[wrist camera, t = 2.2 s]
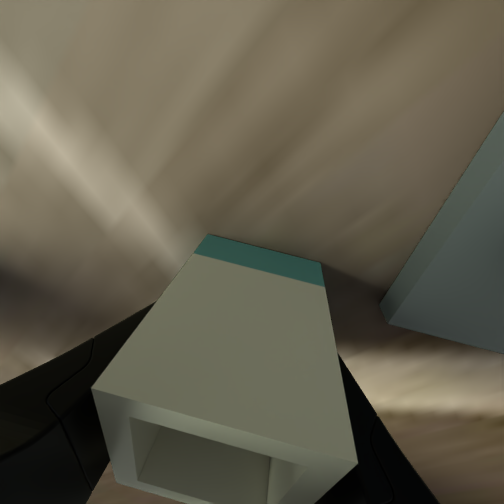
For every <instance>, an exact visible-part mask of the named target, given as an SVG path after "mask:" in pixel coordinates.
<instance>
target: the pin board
mask: <svg viewBox="0 0 504 504" xmlns="http://www.w3.org/2000/svg"><path fill="white" fill-rule="evenodd" d="M379 306H380V309H381V311H382V313H383V315H384V317H385V319H386V322H387V324H390V325H394V326H398V327H402V328H405V329H409V330H413V331H417V332H421V333H425V334H429V335H432V336H436V337H440V338H444V339H448V340H452V341H455V342H459V343H463V344H467V345H471V346H475V347H478V348H482V349H486V350H490V351H494V352H498V353H501V354H504V112H503V113H502V115H501V116H500V118H499V119H498V121H497V123H496V124H495V126H494V127H493V129H492V130H491V132H490V133H489V135H488V136H487V138H486V140H485V141H484V143H483V144H482V146H481V147H480V149H479V150H478V152H477V154H476V155H475V157H474V158H473V160H472V161H471V163H470V164H469V166H468V168H467V169H466V171H465V172H464V174H463V175H462V177H461V178H460V180H459V182H458V183H457V185H456V186H455V188H454V189H453V191H452V192H451V194H450V195H449V197H448V199H447V200H446V202H445V203H444V205H443V206H442V208H441V209H440V211H439V213H438V214H437V216H436V217H435V219H434V220H433V222H432V223H431V225H430V227H429V228H428V230H427V231H426V233H425V234H424V236H423V237H422V239H421V241H420V242H419V244H418V245H417V247H416V248H415V250H414V251H413V253H412V254H411V256H410V258H409V259H408V261H407V262H406V264H405V265H404V267H403V268H402V270H401V272H400V273H399V275H398V276H397V278H396V279H395V281H394V282H393V284H392V286H391V287H390V289H389V290H388V292H387V293H386V295H385V296H384V298H383V300H382V301H381V303H380V304H379Z"/></svg>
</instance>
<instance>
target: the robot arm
mask: <svg viewBox="0 0 504 504" xmlns="http://www.w3.org/2000/svg"><path fill="white" fill-rule="evenodd" d="M156 302H157V301H156ZM156 302H154V303H153V304H151V305H149V306H147V307H146V308H144V309H142V310H140V311H139V312H137V313H135V314H133V315H132V316H130V317H128V318H126V319H125V320H123V321H121V322H119V323H118V324H116V325H114V326H112V327H111V328H109V329H107V330H105V331H104V332H102V333H100V334H98V335H97V336H95V337H94V338H91V339H89V340H88V341H86V342H84V343H82V344H81V345H79V346H77V347H75V348H73V349H71V350H70V351H68V352H66V353H64V354H62V355H60V356H58V357H56V358H54V359H52V360H50V361H48V362H46V363H44V364H42V365H40V366H38V367H36V368H34V369H32V370H30V371H28V372H26V373H24V374H22V375H20V376H18V377H16V378H14V379H11V380H9V381H7V382H5V383H3V384H1V385H0V504H86V502H87V501H88V499H89V497H90V495H91V493H92V492H91V491H93V490H94V488H95V486H96V484H97V483H98V481H99V479H100V477H101V476H102V474H103V472H104V470H105V469H106V467H107V465H108V463H109V461H110V457H109V454H108V450H107V446H106V442H105V439H104V435H103V431H102V427H101V424H100V420H99V416H98V412H97V409H96V405H95V401H94V397H93V394H92V390H91V387H92V386H93V385H94V383H95V382H96V381H97V379H98V378H99V377H100V376H101V374H102V373H103V372H104V370H105V369H106V368H107V366H108V365H109V364H110V362H111V361H112V360H113V358H114V357H115V356H116V354H117V353H118V352H119V350H120V349H121V348H122V346H123V345H124V344H125V343H126V341H127V340H128V339H129V337H130V336H131V335H132V333H133V332H134V331H135V329H136V328H137V327H138V325H139V324H140V323H141V321H142V320H143V319H144V317H145V316H146V315H147V314H148V312H149V311H150V310H151V308H152V307H153V306H154V304H155V303H156ZM337 354H338V353H337ZM338 359H339V365H340V370H341V375H342V381H343V386H344V391H345V397H346V402H347V407H348V413H349V418H350V423H351V429H352V434H353V439H354V444H355V450H356V455H357V460H358V464H357V465H356V466H355V467H353V468H352V469H351V470H350V471H349V472H348V473H347V474H346V475H345V476H344V477H343V478H341V479H340V480H339V481H338V482H337V483H336V484H335V485H334V486H333V487H332V488H331V489H330V490H328V491H327V492H326V493H325V494H324V495H323V496H322V497H321V498H320V499H319V500H318V501H316V502H315V503H314V504H440V503H439V502H438V500H437V499H436V498H435V496H434V495H433V494H432V492H431V491H430V489H429V488H428V487H427V485H426V484H425V483H424V481H423V480H422V479H421V477H420V476H419V475H418V473H417V472H416V470H415V469H414V468H413V466H412V465H411V464H410V462H409V461H408V459H407V458H406V457H405V455H404V454H403V452H402V451H401V450H400V448H399V447H398V445H397V444H396V442H395V441H394V439H393V438H392V436H391V435H390V433H389V432H388V430H387V429H386V427H385V425H384V424H383V422H382V421H381V419H380V418H379V417H378V416H377V413H376V412H375V410H374V409H373V407H372V405H371V404H370V402H369V401H368V399H367V398H366V396H365V395H364V393H363V391H362V390H361V388H360V387H359V385H358V384H357V382H356V381H355V379H354V377H353V376H352V374H351V373H350V371H349V370H348V368H347V367H346V365H345V363H344V362H343V360H342V359H341V357H340V356H339V354H338Z"/></svg>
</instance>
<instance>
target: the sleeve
mask: <svg viewBox="0 0 504 504" xmlns="http://www.w3.org/2000/svg"><path fill="white" fill-rule="evenodd" d="M91 390H92V394H93V397H94V401H95V405H96V409H97V412H98V416H99V420H100V424H101V427H102V431H103V435H104V439H105V442H106V446H107V450H108V454H109V457H110V461H111V465H112V468H113V472H114V476H115V480H116V483H120V484H123V485H126V486H130V487H133V488H136V489H140V490H143V491H147V492H150V493H153V494H157V495H160V496H164V497H167V498H170V499H174V500H177V501H181V502H184V503H187V504H314V503H315V502H316V501H318V500H319V499H320V498H321V497H322V496H323V495H324V494H325V493H326V492H327V491H328V490H330V489H331V488H332V487H333V486H334V485H335V484H336V483H337V482H338V481H339V480H340V479H341V478H343V477H344V476H345V475H346V474H347V473H348V472H349V471H350V470H351V469H352V468H353V467H355V466H356V465H357V464H358V460H357V455H356V450H355V444H354V439H353V434H352V429H351V423H350V418H349V413H348V407H347V402H346V397H345V391H344V386H343V381H342V375H341V370H340V365H339V359H338V354H337V349H336V343H335V338H334V333H333V327H332V322H331V317H330V311H329V306H328V301H327V296H326V290H325V285H324V280H323V274H322V269H321V264H320V263H319V262H315V261H311V260H307V259H304V258H300V257H296V256H292V255H288V254H284V253H280V252H276V251H272V250H268V249H264V248H260V247H256V246H252V245H248V244H245V243H241V242H237V241H233V240H229V239H225V238H221V237H217V236H213V235H209V234H207V236H206V237H205V238H204V240H203V241H202V242H201V244H200V245H199V246H198V248H197V249H196V250H195V251H194V253H193V254H192V255H191V257H190V258H189V259H188V261H187V262H186V263H185V265H184V266H183V267H182V269H181V270H180V271H179V273H178V274H177V275H176V277H175V278H174V279H173V281H172V282H171V283H170V284H169V286H168V287H167V288H166V290H165V291H164V292H163V294H162V295H161V296H160V298H159V299H158V300H157V302H156V303H155V304H154V306H153V307H152V308H151V310H150V311H149V312H148V314H147V315H146V316H145V317H144V319H143V320H142V321H141V323H140V324H139V325H138V327H137V328H136V329H135V331H134V332H133V333H132V335H131V336H130V337H129V339H128V340H127V341H126V343H125V344H124V345H123V346H122V348H121V349H120V350H119V352H118V353H117V354H116V356H115V357H114V358H113V360H112V361H111V362H110V364H109V365H108V366H107V368H106V369H105V370H104V372H103V373H102V374H101V376H100V377H99V378H98V379H97V381H96V382H95V383H94V385H93V386H92V387H91Z"/></svg>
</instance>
